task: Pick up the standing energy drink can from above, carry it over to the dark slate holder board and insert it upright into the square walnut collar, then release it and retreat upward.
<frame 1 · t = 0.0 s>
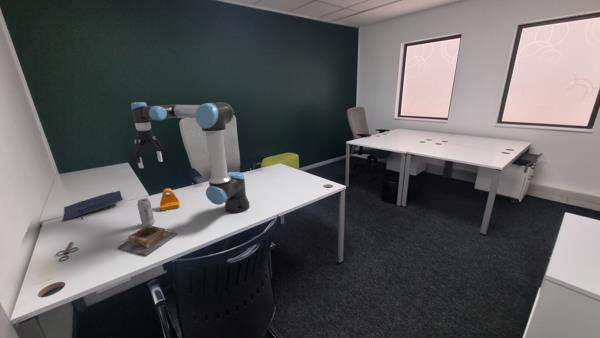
hand: (151, 164, 148), 28 cm above the table, fingers open, 13 cm apart
bracket: (170, 207, 155), on the table
navy blue flat panel: (94, 207, 157), on the table
can holder: (148, 241, 120), on the table
grey scissors: (68, 251, 114), on the table
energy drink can: (148, 224, 135), on the table
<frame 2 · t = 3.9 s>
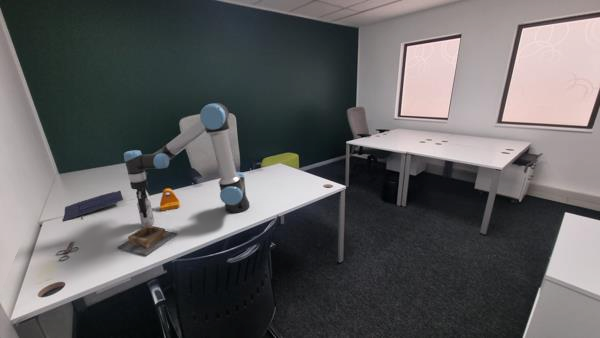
hand: (147, 219, 134), 3 cm above the table, fingers closed on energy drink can, 6 cm apart
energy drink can: (148, 224, 135), on the table, touching gripper
everything else where it was.
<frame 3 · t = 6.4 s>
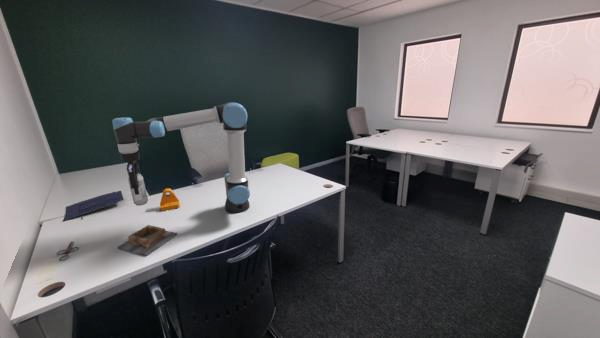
hand: (140, 197, 120), 21 cm above the table, fingers closed on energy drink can, 6 cm apart
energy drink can: (141, 203, 121), point 17 cm above the table, touching gripper
everything else where it was.
when the fingers open (7 cm above the table, at t = 9.1 s): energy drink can drops 2 cm, resting on can holder.
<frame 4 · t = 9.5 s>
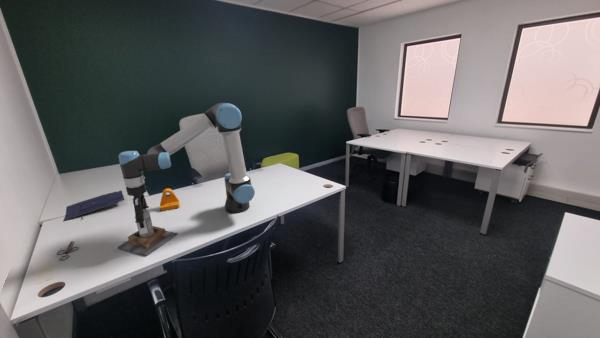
hand: (145, 226, 117), 8 cm above the table, fingers open, 11 cm apart
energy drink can: (148, 239, 120), point 1 cm above the table, touching can holder
everything else where it was.
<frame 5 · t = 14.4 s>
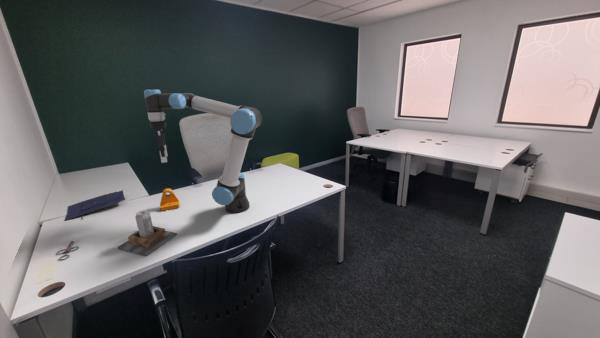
hand: (164, 159, 134), 35 cm above the table, fingers open, 13 cm apart
at the end: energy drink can 0.0 cm off-centre on the can holder, point 0.8 cm above the can holder's base; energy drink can tilted 0°; the gripper is holding nothing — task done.
